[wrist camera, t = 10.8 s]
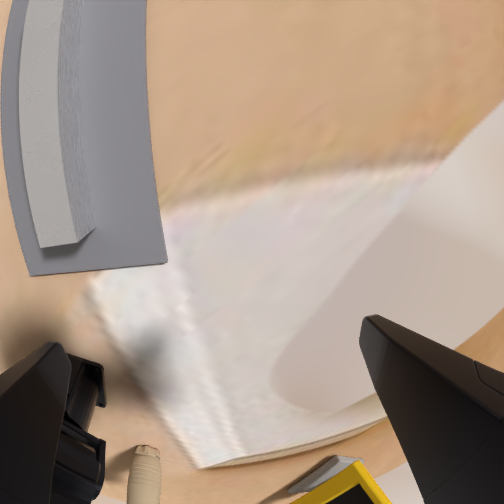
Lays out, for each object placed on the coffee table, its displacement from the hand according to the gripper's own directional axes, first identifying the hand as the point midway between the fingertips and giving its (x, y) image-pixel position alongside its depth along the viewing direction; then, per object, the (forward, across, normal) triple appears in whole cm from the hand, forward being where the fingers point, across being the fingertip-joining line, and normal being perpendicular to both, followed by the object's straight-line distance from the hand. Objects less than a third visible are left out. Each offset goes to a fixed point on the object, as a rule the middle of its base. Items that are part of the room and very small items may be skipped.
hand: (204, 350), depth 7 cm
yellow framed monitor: (+12, -12, +43) cm, 46 cm away
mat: (+12, +9, -10) cm, 18 cm away
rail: (+12, +9, -10) cm, 18 cm away
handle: (+12, +12, +28) cm, 32 cm away
